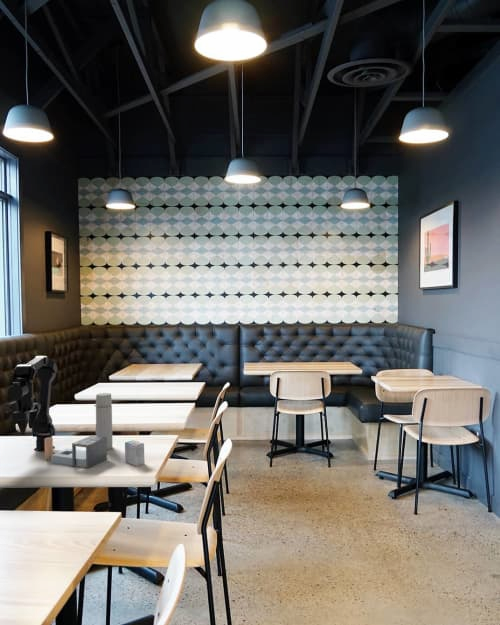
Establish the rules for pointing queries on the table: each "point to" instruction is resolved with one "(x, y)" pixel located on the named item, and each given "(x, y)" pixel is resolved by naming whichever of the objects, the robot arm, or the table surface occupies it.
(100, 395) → the water bottle
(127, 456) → the medicine box
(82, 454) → the socket plate
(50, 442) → the peg
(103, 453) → the grey open-top bin
